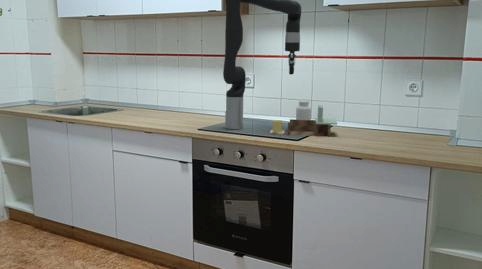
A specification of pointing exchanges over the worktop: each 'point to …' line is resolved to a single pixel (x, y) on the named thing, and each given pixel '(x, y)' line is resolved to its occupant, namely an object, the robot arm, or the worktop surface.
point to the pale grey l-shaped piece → (324, 121)
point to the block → (277, 125)
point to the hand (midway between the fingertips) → (291, 73)
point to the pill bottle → (303, 111)
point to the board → (305, 128)
